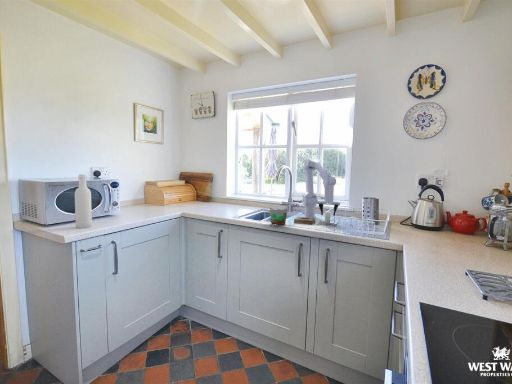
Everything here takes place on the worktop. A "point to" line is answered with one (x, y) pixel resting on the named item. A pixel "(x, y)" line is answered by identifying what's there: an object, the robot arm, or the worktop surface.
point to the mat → (326, 224)
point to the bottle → (83, 204)
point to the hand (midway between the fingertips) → (328, 215)
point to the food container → (278, 216)
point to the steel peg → (327, 217)
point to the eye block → (304, 220)
